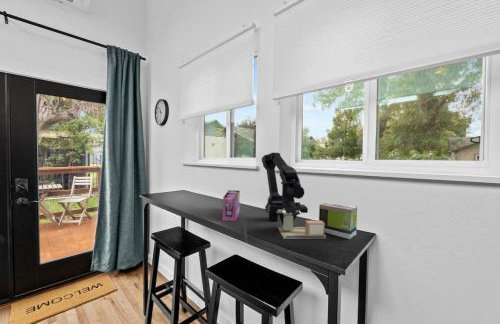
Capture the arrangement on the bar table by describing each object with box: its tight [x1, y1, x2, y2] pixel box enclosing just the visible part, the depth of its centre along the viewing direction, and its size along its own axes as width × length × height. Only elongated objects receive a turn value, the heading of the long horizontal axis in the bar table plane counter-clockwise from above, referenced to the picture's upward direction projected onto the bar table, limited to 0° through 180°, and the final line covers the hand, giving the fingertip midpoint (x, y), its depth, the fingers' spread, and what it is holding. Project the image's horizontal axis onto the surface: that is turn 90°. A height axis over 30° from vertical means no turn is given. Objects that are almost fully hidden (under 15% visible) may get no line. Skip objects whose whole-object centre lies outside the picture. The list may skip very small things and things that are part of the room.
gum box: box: [222, 190, 241, 222], centre depth 136 cm, size 24×8×14 cm, turn 177°
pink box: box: [304, 220, 325, 235], centre depth 102 cm, size 4×8×6 cm, turn 94°
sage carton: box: [280, 211, 294, 230], centre depth 109 cm, size 4×8×6 cm, turn 4°
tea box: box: [318, 201, 358, 240], centre depth 107 cm, size 15×10×15 cm, turn 48°
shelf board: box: [277, 226, 327, 240], centre depth 106 cm, size 15×19×3 cm
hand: (287, 225), depth 109 cm, fingers closed on sage carton, 4 cm apart
